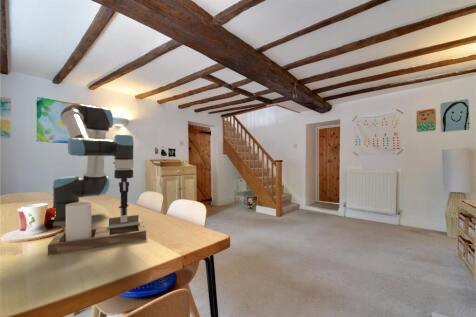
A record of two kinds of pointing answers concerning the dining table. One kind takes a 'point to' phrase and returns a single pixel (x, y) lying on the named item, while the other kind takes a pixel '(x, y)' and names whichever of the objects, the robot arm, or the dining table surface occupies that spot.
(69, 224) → the cup
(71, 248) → the board
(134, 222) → the lid
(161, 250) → the dining table surface
